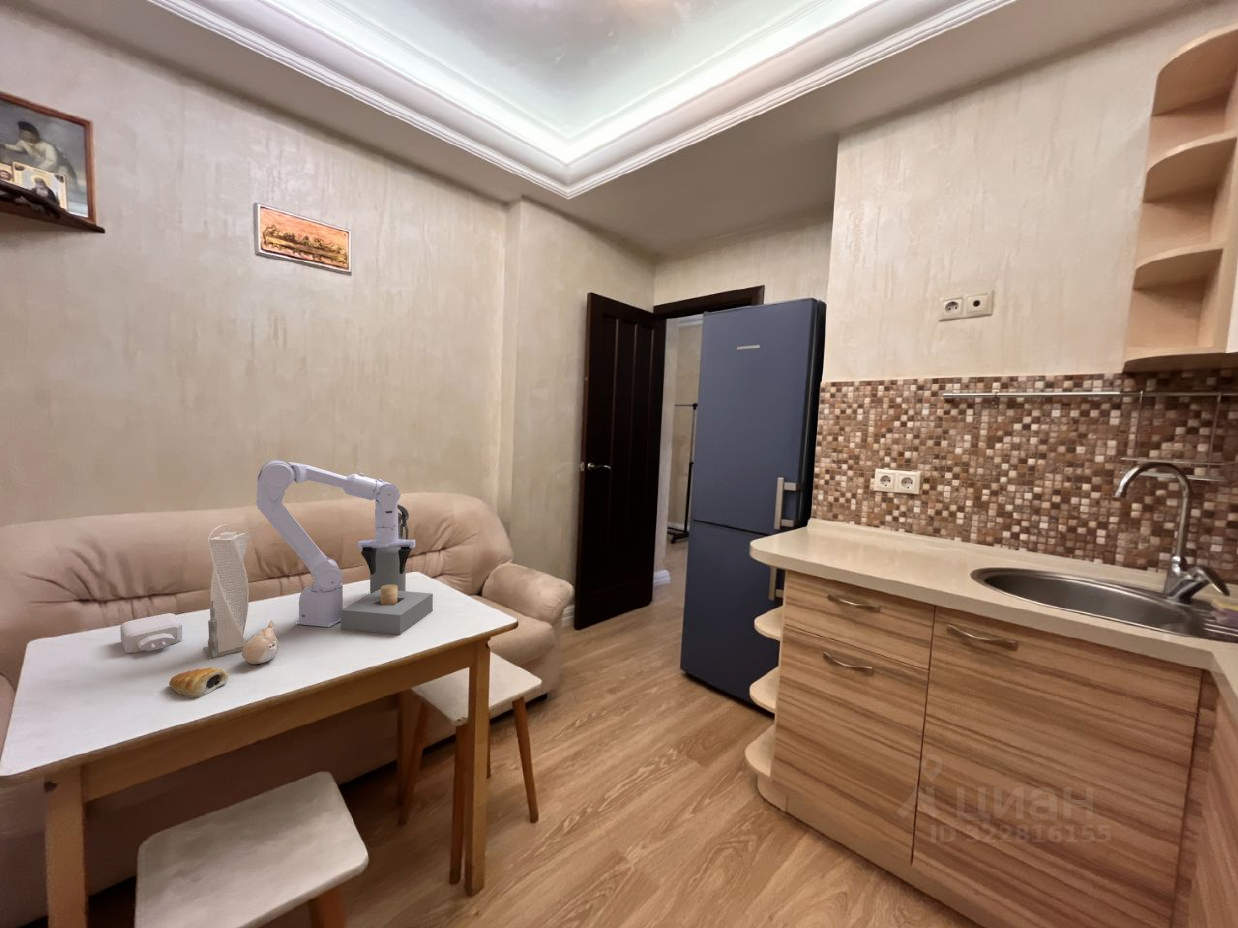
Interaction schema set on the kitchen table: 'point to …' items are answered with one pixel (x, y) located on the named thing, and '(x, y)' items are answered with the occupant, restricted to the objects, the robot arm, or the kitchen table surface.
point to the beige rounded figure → (261, 646)
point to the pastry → (198, 681)
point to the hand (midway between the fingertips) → (387, 573)
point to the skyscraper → (227, 594)
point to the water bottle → (390, 561)
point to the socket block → (386, 612)
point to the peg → (389, 594)
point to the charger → (150, 633)
